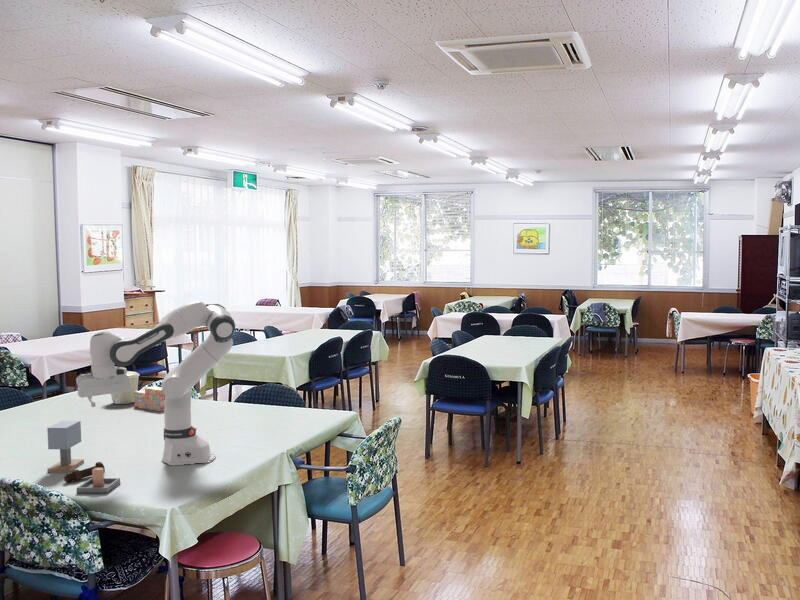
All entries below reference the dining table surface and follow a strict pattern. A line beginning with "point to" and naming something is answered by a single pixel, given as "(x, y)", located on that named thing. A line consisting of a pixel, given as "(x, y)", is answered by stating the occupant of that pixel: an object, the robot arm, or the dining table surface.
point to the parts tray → (89, 489)
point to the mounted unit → (64, 444)
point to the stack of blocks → (150, 398)
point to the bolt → (82, 473)
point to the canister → (129, 395)
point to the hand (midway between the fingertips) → (105, 405)
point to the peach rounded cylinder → (98, 477)
